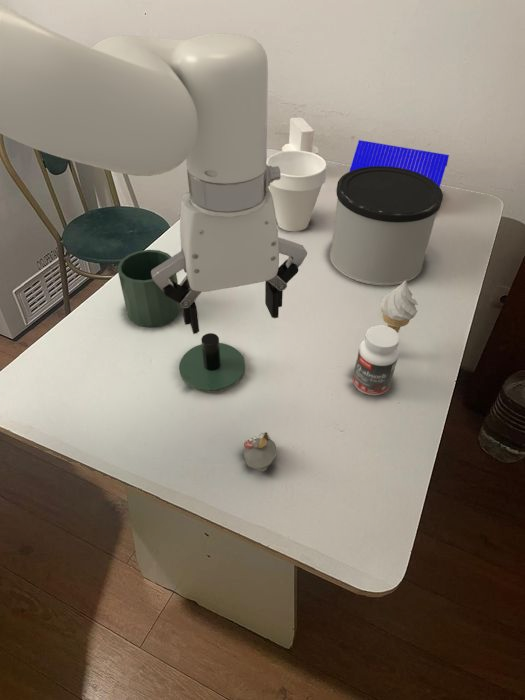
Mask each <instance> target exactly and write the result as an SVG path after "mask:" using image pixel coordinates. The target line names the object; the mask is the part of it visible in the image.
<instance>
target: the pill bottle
mask: <svg viewBox="0 0 525 700" xmlns="http://www.w3.org/2000/svg"><path fill="white" fill-rule="evenodd" d="M399 344H400V334H399V332H398V333H397V332H396V331H395V330H394V329H392V328H390V327H388V325H383V324H377V325H372V326H371V327H369V328H368V329H367V330H366V331H365V336H364V339H363V340H362V341H361V342H360V344H359V347H358V350H357V351H358V352H357V356H356V360H355V366H354V370H353V375H352V383H353V384H354V386H355V388H356V389H357V390H358V391H360V392H361V393H362V394H365V395H368V396H378V395H382V394H385V393H386V392H387V391H388V390H389V389H390V387H391V384H392V380H393V376H394V373H395V369H396V366H397V363H398V360H399V354H400V352H399V351H400V350H399Z"/></svg>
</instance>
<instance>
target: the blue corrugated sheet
mask: <svg viewBox="0 0 525 700" xmlns="http://www.w3.org/2000/svg"><path fill="white" fill-rule="evenodd" d="M449 158H450V154H445V153H439V152H433V151H427V150H422V149H415V148H409V147H404V146H398V145H391V144H387V143H386V144H384V143H380V142H372V141H367V140H362V139H361V140H360V139H358V141H357V145H356V149H355V152H354V155H353V158H352V163H351V165H350V168H349V171H348V172H350V171H352V170H355V169H359V168H364V167H372V166H388V167H397V168H402V169H407V170H411V171H414V172H417V173H419V174H422V175H424V176H426V177H428V178H430V179H431V180H433V181H434V182H435V183H436V184H437V185H438V186H439V187H440V188H441V185H442V181H443V178H444V173H445V170H446V167H447V166H448V162H449Z"/></svg>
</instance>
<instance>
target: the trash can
mask: <svg viewBox="0 0 525 700" xmlns="http://www.w3.org/2000/svg"><path fill="white" fill-rule="evenodd" d="M171 257H172V256H171V255H170V254H169V253H168V252H164V251H162V250H159V249H143V250H137V251H135V252H132V253H129V254H127V255H126V256H124V257H123V258H122V259H121V260H120V261H119V263H118V264H117V273H118V278H119V283H120V287H121V291H122V297H123V301H124V304H125V308H126V314H127V316H128V318H129V320H130V321H131V322H132V323H133V324H134V325H137V326H140V327H144V328H158V327H162V326H165V325H168V324H169V323H171V322H173V321H174V320H175V319H176V318H177V317H178V316H179V314H180V313H181V304H180V303H178V302H176V301H175V300H173V299H171V298H169V297H167V296H166V295H165V293H164V292H163V291H162V290H161V289H160V288H159V287H158V286H157V285H156V283H155V282H154V281H153V280H152V276H151V270H152V269H154V268H155V267H157V266H158V265H160V264H162V263H163V262H165V261H166V260H168V259H169V258H171ZM169 279H170V280H172V281H174V282H175V283H177V284H179V283H178V275H177V273H176V274H174V275H173V276H171V277H170V278H169Z"/></svg>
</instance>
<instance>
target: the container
mask: <svg viewBox="0 0 525 700" xmlns="http://www.w3.org/2000/svg"><path fill="white" fill-rule="evenodd" d="M349 171H350V170H349ZM349 171H348V172H346V173H344V174H343V175H341V176H340V178H339V179H338V181H337V184H336V191H335V192H336V197H337V199H336V207H335V208H336V209H335V216H334V222H333V223H334V224H333V232H332V241H331V247H330V249H329V250H330V251H329V258H330V262H331V264H332V266H334V268H335V269H336V270H337V271H338V272H339V273H341V274H342V275H344V276H345V277H347V278H349V279H351V280H353V281H355V282H356V281H357V282H359V283H363V284H366V285H372V286H383V287H385V286H397V285H401V284H402V283H403V282H404V281H405V280H406V282H407V283H408V282H410V281H411V280H414V279H415V278H417V276H419V274H420V273H421V272H422V269H423V267H424V259H425V256H426V252H427V249H428V245H429V241H430V238H431V234H432V231H433V226H434V224H435V220H436V216H437V213H438V211H439V210H440V208H441V206H442V202H443V200H444V192H443V190H442V189H441V186H440V187H439V186H438V185H437V184H436V183H435V182H434V181H433V180H431V179H430V178H428V177H426V176H424V175H422V174H419V173H417V172H414V171H411V170H407V169H402V168H397V167H388V166H372V167H364V168H359V169H355V170H352V171H350V172H349Z"/></svg>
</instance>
